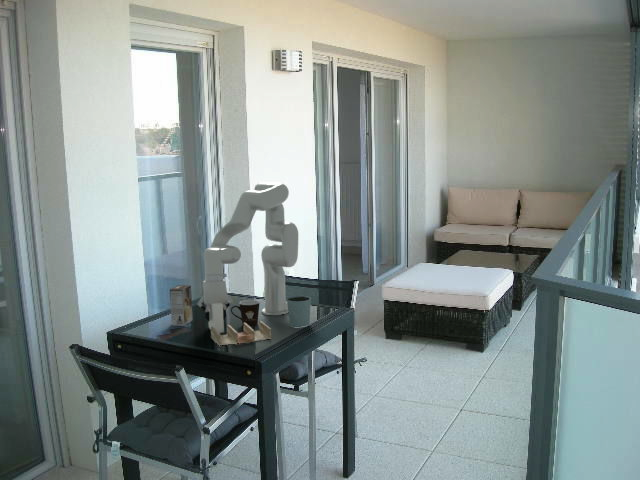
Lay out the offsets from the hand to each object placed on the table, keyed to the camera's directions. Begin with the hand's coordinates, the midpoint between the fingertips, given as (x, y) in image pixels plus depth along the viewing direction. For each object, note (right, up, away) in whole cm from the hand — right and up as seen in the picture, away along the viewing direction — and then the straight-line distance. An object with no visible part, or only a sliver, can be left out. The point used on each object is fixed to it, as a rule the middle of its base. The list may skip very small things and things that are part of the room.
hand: (215, 319), depth 290 cm
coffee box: (-17, -3, +12) cm, 21 cm away
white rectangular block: (0, -5, +1) cm, 5 cm away
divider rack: (+12, -6, -13) cm, 19 cm away
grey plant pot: (+35, -4, +5) cm, 35 cm away
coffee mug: (+12, -3, +8) cm, 15 cm away
